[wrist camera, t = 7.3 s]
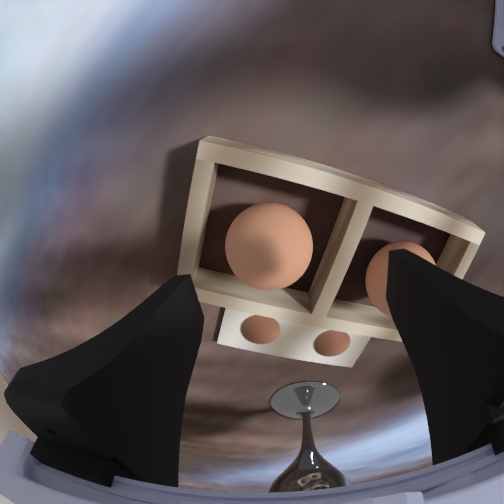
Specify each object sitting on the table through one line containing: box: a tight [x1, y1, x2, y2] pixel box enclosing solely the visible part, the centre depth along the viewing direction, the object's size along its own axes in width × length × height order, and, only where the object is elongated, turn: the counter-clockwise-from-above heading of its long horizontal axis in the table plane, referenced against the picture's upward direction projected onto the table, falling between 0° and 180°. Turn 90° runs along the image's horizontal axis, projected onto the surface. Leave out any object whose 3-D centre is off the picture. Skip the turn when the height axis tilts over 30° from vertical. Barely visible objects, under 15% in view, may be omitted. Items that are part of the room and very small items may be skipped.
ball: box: [365, 241, 436, 317], centre depth 18 cm, size 5×5×5 cm
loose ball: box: [225, 203, 313, 290], centre depth 18 cm, size 5×5×5 cm
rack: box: [177, 136, 485, 367], centre depth 20 cm, size 19×16×2 cm
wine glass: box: [268, 381, 352, 493], centre depth 22 cm, size 8×8×15 cm
